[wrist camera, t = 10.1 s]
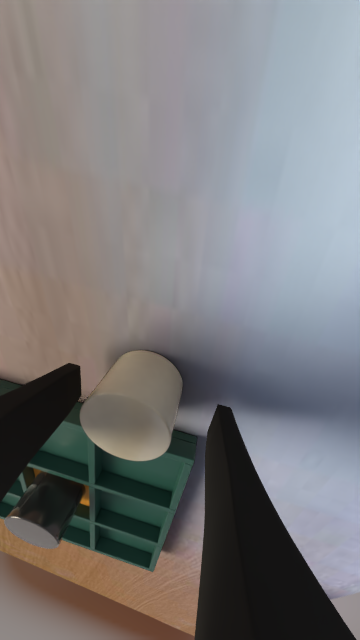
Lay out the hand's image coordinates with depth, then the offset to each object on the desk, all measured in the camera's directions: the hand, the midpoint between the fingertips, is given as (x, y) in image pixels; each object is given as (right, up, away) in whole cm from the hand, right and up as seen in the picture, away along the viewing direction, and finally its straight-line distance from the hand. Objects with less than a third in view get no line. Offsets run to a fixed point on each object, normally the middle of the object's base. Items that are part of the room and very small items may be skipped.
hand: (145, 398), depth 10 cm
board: (-8, -9, +7) cm, 14 cm away
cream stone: (0, 0, +1) cm, 1 cm away
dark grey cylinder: (-8, -10, +7) cm, 14 cm away
